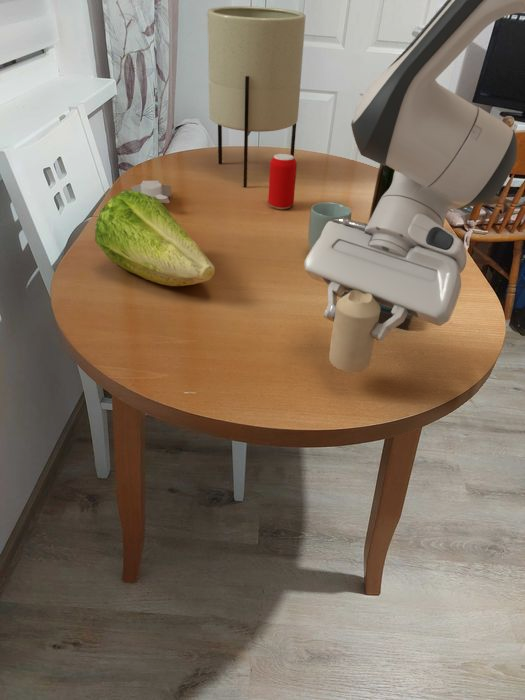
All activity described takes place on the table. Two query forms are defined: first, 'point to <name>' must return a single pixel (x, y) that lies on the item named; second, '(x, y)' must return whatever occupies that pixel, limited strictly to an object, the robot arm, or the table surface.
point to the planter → (254, 70)
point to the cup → (324, 218)
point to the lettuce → (149, 241)
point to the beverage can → (282, 181)
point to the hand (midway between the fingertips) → (352, 329)
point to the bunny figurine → (154, 190)
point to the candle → (353, 331)
